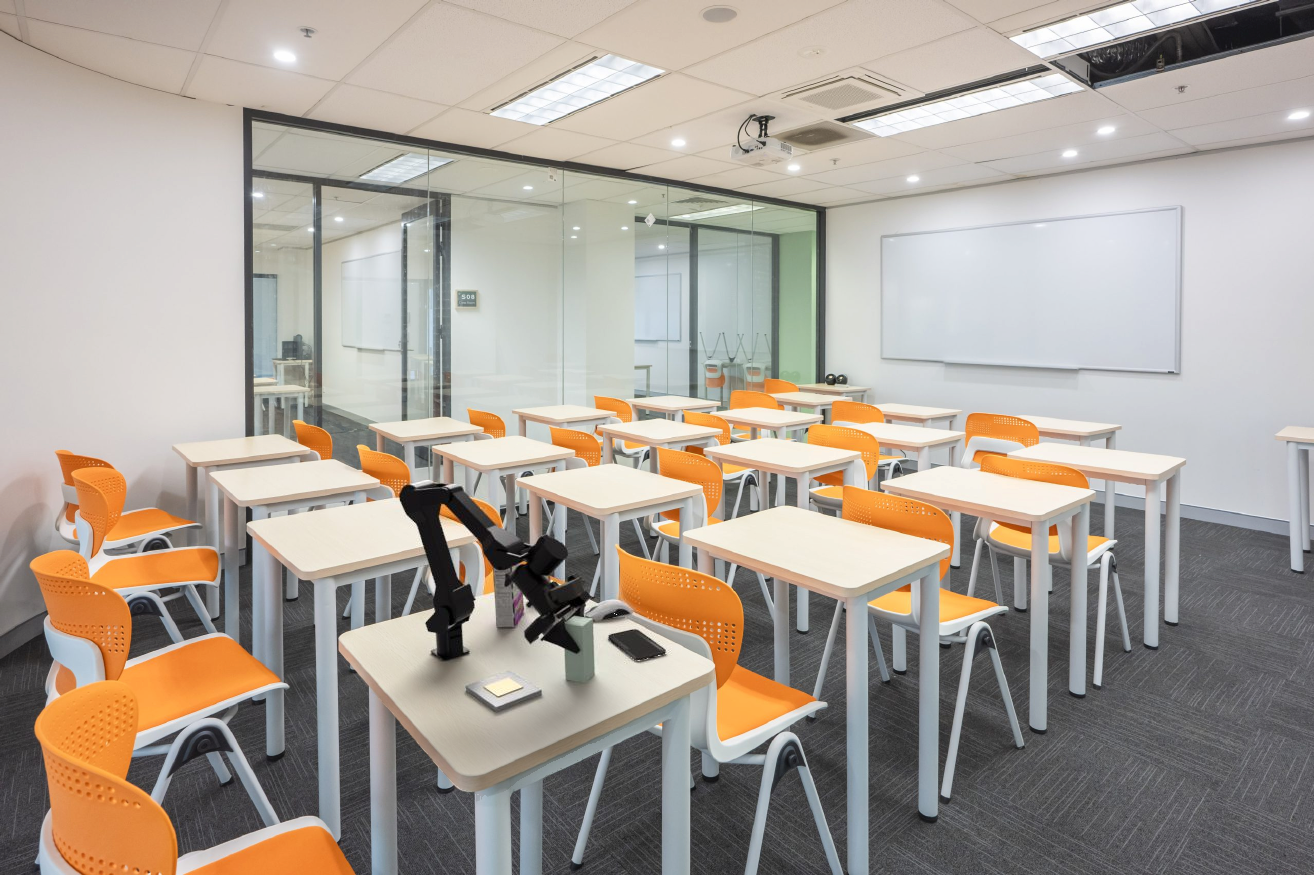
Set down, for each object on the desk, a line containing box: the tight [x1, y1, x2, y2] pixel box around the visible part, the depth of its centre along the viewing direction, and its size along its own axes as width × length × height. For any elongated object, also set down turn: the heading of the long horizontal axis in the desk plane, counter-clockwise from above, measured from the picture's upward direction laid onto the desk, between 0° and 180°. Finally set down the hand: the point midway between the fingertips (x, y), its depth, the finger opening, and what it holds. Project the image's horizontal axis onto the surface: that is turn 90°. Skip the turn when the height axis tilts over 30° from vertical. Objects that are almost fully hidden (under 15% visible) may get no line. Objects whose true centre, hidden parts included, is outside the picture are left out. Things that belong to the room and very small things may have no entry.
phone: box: [607, 628, 667, 661], centre depth 165 cm, size 8×1×15 cm
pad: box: [465, 669, 543, 713], centre depth 144 cm, size 12×10×1 cm
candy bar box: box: [492, 562, 525, 629], centre depth 181 cm, size 11×5×16 cm, turn 179°
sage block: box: [563, 616, 596, 684], centre depth 149 cm, size 4×4×12 cm
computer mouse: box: [562, 599, 634, 622], centre depth 184 cm, size 10×18×4 cm, turn 114°
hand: (585, 647), depth 149 cm, fingers open, 5 cm apart
